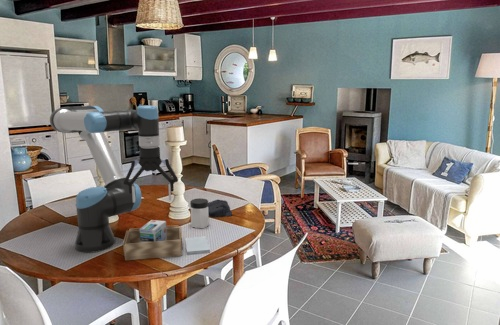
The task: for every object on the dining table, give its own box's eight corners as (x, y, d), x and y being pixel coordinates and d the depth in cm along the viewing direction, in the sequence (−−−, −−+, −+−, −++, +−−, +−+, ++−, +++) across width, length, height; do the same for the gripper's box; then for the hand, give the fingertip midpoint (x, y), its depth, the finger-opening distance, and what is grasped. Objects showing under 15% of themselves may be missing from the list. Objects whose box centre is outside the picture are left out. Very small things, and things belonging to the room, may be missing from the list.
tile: (186, 254, 151) (186, 251, 151) (185, 240, 164) (185, 237, 164) (209, 252, 153) (209, 249, 152) (206, 238, 166) (206, 236, 166)
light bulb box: (156, 256, 149) (155, 230, 147) (140, 255, 151) (138, 228, 149) (167, 245, 160) (166, 220, 158) (152, 244, 161) (151, 219, 159)
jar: (202, 220, 188) (201, 197, 186) (212, 225, 182) (212, 200, 180) (186, 225, 182) (186, 200, 180) (197, 230, 176) (196, 204, 174)
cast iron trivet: (231, 204, 215) (230, 196, 214) (232, 218, 194) (232, 208, 193) (203, 205, 214) (203, 196, 213) (201, 218, 193) (201, 209, 192)
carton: (123, 261, 145) (122, 244, 144) (127, 244, 161) (126, 228, 159) (182, 255, 150) (182, 239, 148) (181, 240, 165) (180, 225, 164)
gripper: (113, 149, 141) (117, 205, 145) (183, 147, 146) (185, 201, 150) (116, 146, 148) (119, 199, 152) (182, 144, 153) (184, 195, 157)
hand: (152, 200), depth 151 cm, fingers open, 13 cm apart
